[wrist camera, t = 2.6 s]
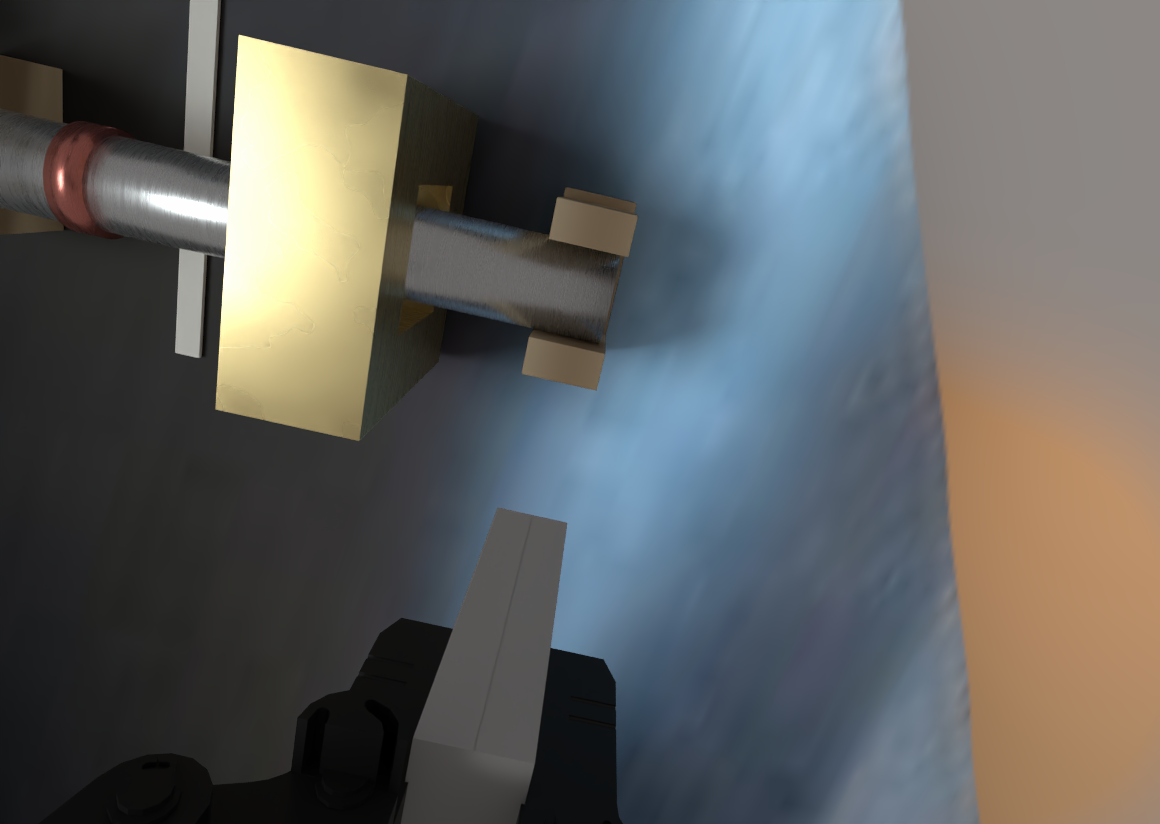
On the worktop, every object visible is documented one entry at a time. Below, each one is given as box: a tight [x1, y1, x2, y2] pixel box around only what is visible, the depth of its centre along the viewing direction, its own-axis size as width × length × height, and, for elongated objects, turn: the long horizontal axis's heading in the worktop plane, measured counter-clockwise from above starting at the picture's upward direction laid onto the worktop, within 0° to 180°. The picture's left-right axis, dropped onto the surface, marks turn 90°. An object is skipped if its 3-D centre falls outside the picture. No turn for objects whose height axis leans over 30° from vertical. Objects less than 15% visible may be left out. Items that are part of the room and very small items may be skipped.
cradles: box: [0, 55, 638, 391], centre depth 24 cm, size 24×6×7 cm, turn 78°
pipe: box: [0, 108, 620, 344], centre depth 22 cm, size 24×3×3 cm, turn 78°
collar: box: [216, 35, 479, 441], centre depth 22 cm, size 4×9×9 cm, turn 168°
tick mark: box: [175, 0, 221, 358], centre depth 27 cm, size 1×14×1 cm, turn 168°
